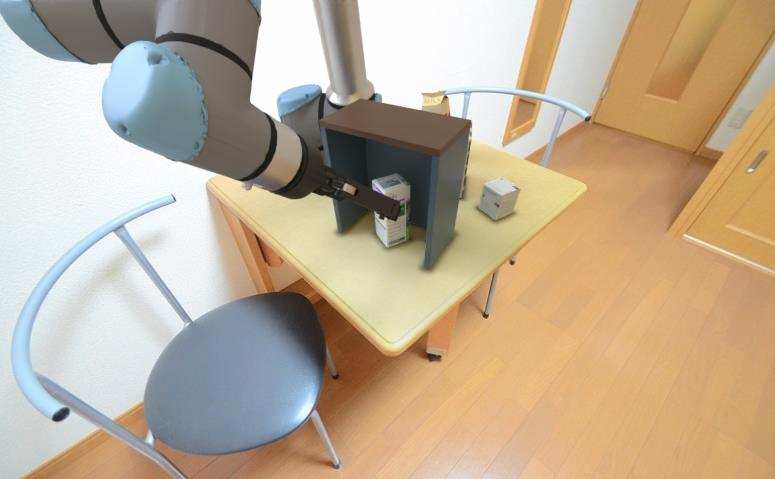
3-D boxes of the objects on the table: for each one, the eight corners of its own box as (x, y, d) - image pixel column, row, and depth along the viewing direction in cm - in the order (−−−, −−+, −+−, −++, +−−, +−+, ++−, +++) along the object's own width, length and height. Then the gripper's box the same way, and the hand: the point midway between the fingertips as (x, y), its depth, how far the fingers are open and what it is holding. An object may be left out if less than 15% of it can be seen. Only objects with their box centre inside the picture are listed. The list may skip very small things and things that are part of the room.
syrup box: (387, 248, 69) (385, 192, 59) (375, 233, 73) (371, 178, 63) (409, 240, 71) (411, 184, 61) (397, 225, 75) (396, 171, 65)
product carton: (477, 208, 79) (482, 183, 74) (495, 200, 81) (501, 175, 76) (495, 221, 75) (502, 195, 70) (513, 213, 77) (521, 187, 72)
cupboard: (338, 232, 73) (318, 120, 56) (368, 204, 81) (360, 98, 64) (428, 270, 64) (440, 149, 46) (453, 234, 72) (471, 119, 54)
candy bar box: (446, 175, 91) (452, 118, 80) (464, 176, 90) (473, 119, 79) (443, 197, 83) (450, 137, 71) (462, 199, 82) (472, 138, 71)
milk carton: (451, 153, 100) (459, 86, 87) (438, 165, 95) (445, 96, 81) (425, 146, 104) (429, 81, 91) (412, 158, 98) (414, 90, 85)
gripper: (201, 165, 41) (304, 201, 61) (354, 226, 31) (419, 246, 51) (220, 110, 41) (317, 164, 60) (381, 155, 31) (436, 202, 50)
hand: (364, 201), depth 56 cm, fingers open, 13 cm apart
